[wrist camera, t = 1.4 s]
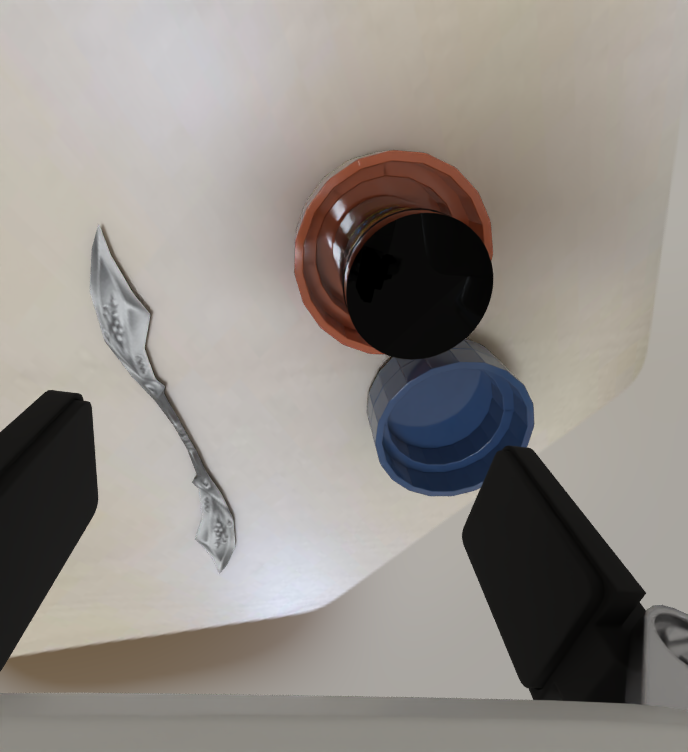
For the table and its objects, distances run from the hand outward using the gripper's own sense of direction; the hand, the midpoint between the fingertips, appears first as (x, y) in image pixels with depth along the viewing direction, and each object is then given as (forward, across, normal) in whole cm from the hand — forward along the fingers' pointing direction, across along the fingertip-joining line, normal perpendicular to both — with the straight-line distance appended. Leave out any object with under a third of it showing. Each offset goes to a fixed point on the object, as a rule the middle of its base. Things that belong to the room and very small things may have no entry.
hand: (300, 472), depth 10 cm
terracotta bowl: (+21, -5, -2) cm, 22 cm away
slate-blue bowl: (+21, -12, +9) cm, 26 cm away
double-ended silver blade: (+21, +8, +15) cm, 27 cm away
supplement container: (+21, -5, -2) cm, 22 cm away
